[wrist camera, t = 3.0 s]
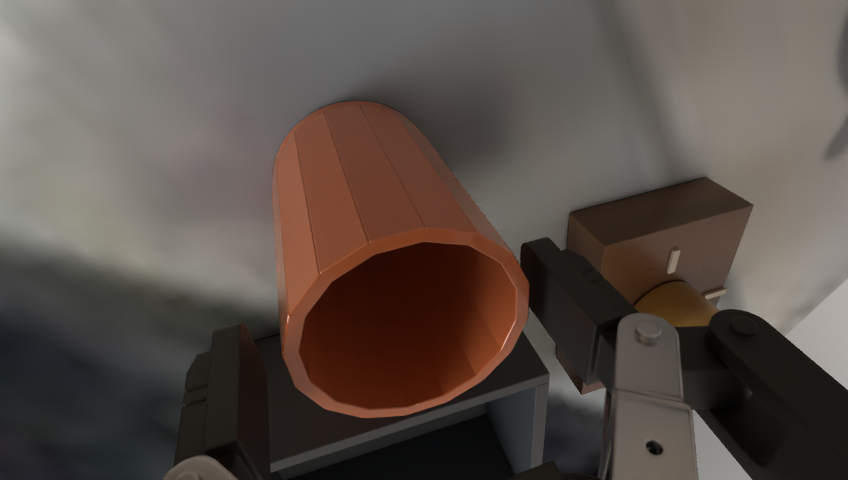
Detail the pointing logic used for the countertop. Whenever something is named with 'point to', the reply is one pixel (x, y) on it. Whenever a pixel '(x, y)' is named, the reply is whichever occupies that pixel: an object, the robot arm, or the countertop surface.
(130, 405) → the countertop surface
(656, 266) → the tap block
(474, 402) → the basin
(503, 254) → the cup
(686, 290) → the tap knob
